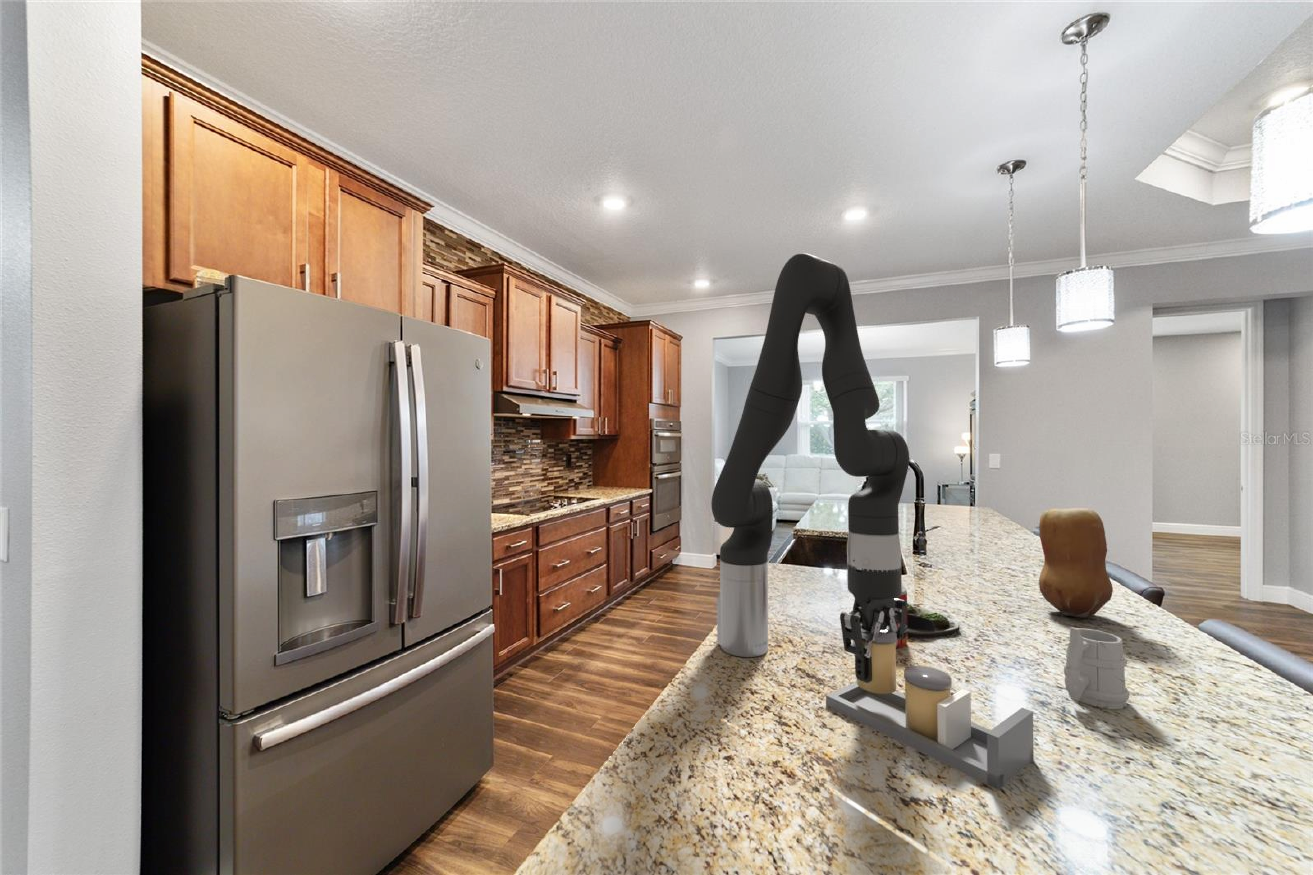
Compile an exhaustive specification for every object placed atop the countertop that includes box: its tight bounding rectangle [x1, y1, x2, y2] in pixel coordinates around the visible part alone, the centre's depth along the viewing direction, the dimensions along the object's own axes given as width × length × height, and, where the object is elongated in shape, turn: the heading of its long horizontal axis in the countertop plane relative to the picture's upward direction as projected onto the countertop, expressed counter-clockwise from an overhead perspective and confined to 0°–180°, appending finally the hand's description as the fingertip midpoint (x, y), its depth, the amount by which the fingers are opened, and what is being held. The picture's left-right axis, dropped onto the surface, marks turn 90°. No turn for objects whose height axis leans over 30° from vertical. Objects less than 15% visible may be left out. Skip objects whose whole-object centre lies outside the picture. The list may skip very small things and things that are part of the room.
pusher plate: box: [937, 688, 972, 750], centre depth 68 cm, size 1×7×6 cm, turn 125°
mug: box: [1063, 626, 1131, 710], centre depth 80 cm, size 8×12×12 cm, turn 116°
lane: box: [825, 680, 1035, 791], centre depth 72 cm, size 24×10×6 cm, turn 35°
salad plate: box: [907, 603, 961, 639], centre depth 116 cm, size 19×18×5 cm
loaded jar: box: [903, 665, 953, 743], centre depth 71 cm, size 6×6×8 cm
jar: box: [856, 628, 897, 694], centre depth 77 cm, size 6×6×8 cm
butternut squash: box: [1038, 507, 1114, 619], centre depth 119 cm, size 14×13×25 cm
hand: (875, 674), depth 77 cm, fingers closed on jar, 5 cm apart
